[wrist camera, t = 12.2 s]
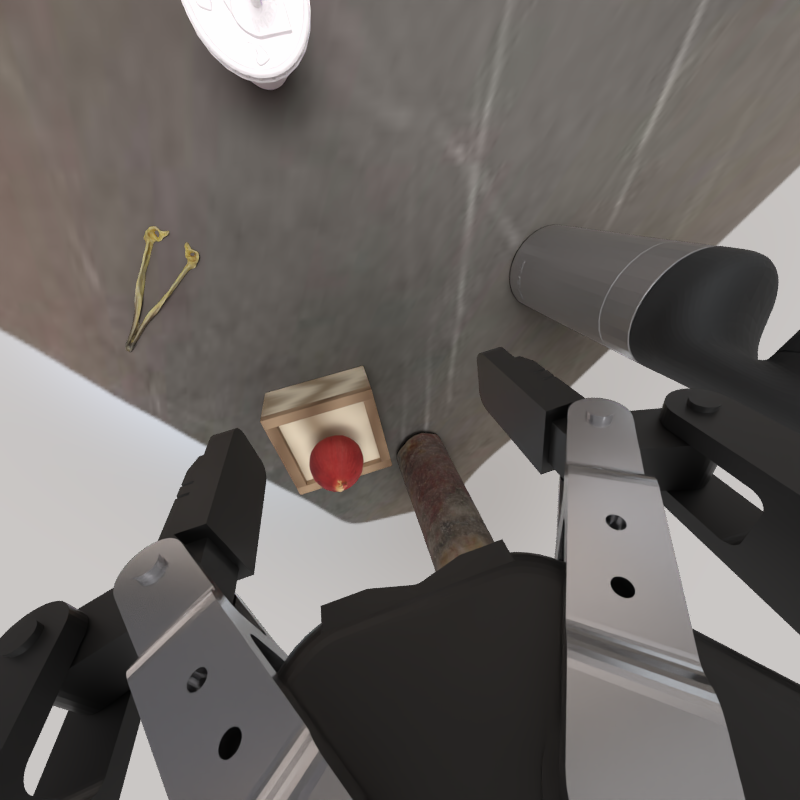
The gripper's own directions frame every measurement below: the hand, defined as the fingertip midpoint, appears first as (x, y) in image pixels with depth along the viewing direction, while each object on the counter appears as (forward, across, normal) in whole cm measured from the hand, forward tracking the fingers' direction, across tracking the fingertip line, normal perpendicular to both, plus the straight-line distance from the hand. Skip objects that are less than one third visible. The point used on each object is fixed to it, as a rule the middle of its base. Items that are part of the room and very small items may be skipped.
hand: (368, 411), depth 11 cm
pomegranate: (+22, +5, +18) cm, 29 cm away
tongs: (+28, +16, -1) cm, 32 cm away
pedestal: (+27, +6, +18) cm, 33 cm away
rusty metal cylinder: (+27, -5, +29) cm, 40 cm away
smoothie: (+27, 0, -15) cm, 31 cm away
